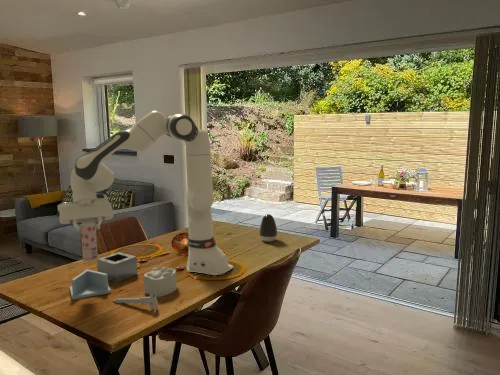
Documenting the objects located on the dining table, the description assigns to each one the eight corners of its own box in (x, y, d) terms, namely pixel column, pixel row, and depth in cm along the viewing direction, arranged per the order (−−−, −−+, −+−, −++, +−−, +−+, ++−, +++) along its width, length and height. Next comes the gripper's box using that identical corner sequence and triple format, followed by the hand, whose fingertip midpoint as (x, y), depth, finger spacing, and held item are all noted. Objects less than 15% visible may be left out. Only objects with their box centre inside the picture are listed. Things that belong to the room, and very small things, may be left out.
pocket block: (137, 273, 193) (136, 256, 191) (115, 282, 183) (114, 264, 182) (119, 268, 199) (118, 252, 198) (97, 276, 190) (96, 259, 188)
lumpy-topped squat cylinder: (141, 291, 173) (140, 271, 172) (166, 282, 183) (166, 262, 182) (157, 298, 167) (156, 277, 165) (182, 288, 176) (182, 268, 175)
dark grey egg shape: (255, 241, 241) (255, 214, 239) (265, 237, 250) (265, 211, 247) (270, 244, 235) (270, 217, 233) (280, 239, 244) (280, 213, 241)
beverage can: (85, 257, 174) (82, 221, 172) (99, 256, 175) (97, 221, 172) (81, 262, 169) (78, 225, 166) (95, 261, 169) (93, 224, 167)
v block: (69, 289, 176) (68, 272, 175) (106, 282, 182) (105, 266, 181) (72, 299, 166) (70, 282, 165) (110, 292, 172) (109, 275, 171)
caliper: (158, 310, 157) (157, 294, 156) (156, 311, 156) (155, 295, 155) (114, 301, 165) (113, 285, 164) (112, 302, 164) (111, 286, 163)
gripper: (56, 198, 169) (59, 228, 162) (110, 194, 178) (115, 222, 171) (57, 207, 174) (60, 237, 167) (109, 203, 183) (114, 230, 176)
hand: (88, 229), depth 169 cm, fingers closed on beverage can, 6 cm apart
